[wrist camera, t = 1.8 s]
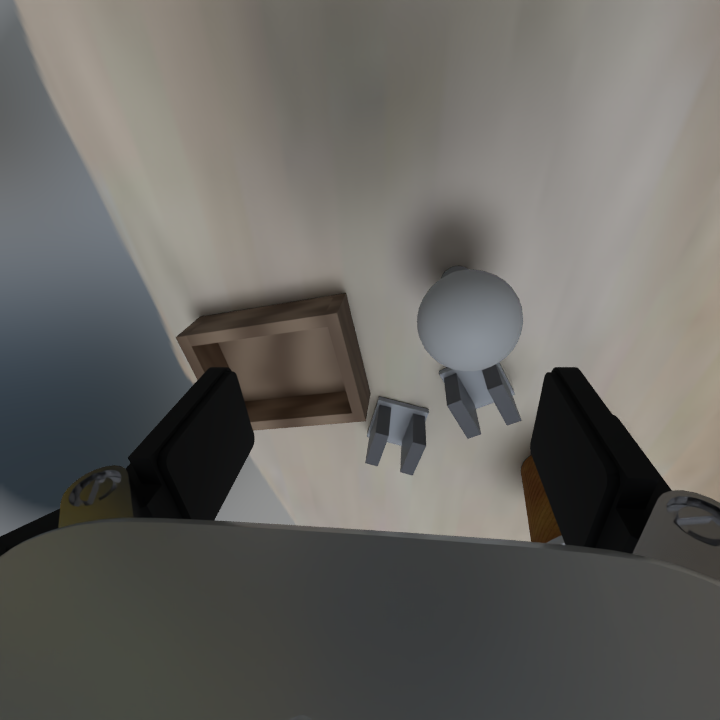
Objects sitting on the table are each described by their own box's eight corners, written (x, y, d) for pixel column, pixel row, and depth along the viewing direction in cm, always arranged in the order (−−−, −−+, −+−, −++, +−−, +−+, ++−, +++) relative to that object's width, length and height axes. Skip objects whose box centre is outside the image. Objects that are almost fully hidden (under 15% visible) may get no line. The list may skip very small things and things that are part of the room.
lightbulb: (412, 246, 28) (410, 300, 19) (495, 232, 27) (538, 283, 18) (421, 318, 31) (423, 395, 22) (497, 308, 30) (533, 386, 21)
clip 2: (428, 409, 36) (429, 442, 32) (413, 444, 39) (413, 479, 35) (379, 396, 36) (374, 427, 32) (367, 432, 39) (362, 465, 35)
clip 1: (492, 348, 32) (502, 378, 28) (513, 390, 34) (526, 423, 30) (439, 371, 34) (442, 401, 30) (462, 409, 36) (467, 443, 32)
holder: (345, 293, 31) (337, 313, 27) (370, 393, 36) (365, 421, 33) (200, 316, 34) (175, 337, 30) (241, 406, 39) (224, 432, 36)
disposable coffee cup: (525, 508, 42) (560, 629, 31) (489, 453, 38) (516, 569, 28) (616, 484, 38) (690, 611, 28) (586, 421, 34) (658, 540, 24)
